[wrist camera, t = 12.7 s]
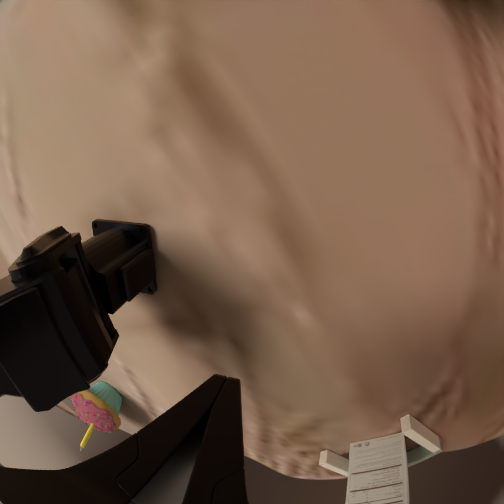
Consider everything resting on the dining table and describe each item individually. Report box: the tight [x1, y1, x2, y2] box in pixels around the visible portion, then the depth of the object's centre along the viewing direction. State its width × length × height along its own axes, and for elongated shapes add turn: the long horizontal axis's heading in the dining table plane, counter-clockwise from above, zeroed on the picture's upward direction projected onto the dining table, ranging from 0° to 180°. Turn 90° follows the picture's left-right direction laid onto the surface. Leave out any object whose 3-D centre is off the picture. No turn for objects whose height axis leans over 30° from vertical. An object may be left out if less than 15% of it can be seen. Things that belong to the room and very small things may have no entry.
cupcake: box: [72, 381, 122, 451], centre depth 31 cm, size 9×8×12 cm
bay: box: [319, 414, 443, 477], centre depth 27 cm, size 11×13×2 cm
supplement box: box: [345, 432, 409, 504], centre depth 22 cm, size 7×7×13 cm
